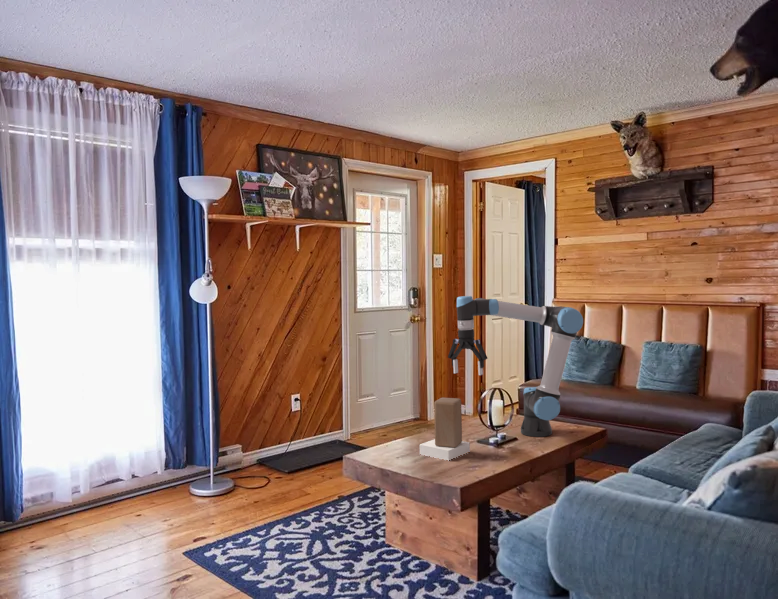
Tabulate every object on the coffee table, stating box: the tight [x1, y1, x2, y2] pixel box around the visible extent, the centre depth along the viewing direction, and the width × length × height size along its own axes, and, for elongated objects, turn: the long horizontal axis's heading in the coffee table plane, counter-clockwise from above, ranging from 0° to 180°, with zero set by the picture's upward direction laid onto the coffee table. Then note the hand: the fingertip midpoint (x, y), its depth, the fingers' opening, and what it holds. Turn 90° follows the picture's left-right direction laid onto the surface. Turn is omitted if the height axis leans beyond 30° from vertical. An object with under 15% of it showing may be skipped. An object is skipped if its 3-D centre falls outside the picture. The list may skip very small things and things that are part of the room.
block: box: [433, 397, 463, 448], centre depth 271 cm, size 10×10×20 cm
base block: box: [419, 438, 471, 462], centre depth 274 cm, size 16×16×5 cm
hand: (468, 374), depth 288 cm, fingers open, 13 cm apart
